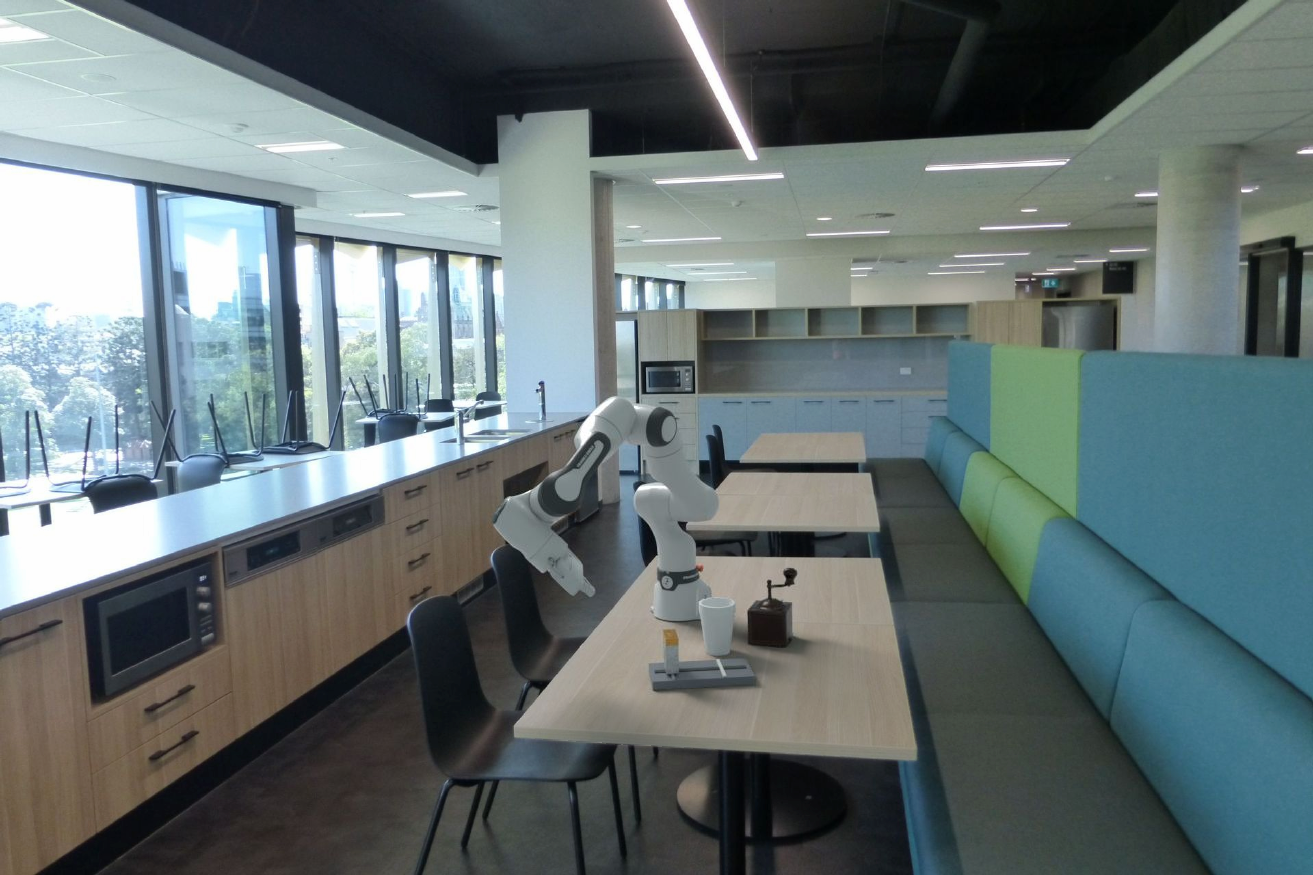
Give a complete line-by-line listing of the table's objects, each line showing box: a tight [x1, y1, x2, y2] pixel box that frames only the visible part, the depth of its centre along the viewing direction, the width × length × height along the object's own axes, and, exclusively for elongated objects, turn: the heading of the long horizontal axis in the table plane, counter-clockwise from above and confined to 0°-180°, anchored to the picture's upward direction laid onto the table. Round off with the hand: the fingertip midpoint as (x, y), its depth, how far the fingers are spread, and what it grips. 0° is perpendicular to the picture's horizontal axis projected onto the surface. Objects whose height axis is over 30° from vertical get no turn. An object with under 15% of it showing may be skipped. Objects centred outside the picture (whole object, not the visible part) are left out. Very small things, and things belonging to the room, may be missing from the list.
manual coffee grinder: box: [746, 567, 798, 648], centre depth 243 cm, size 16×11×18 cm
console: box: [648, 657, 756, 691], centre depth 216 cm, size 24×12×2 cm, turn 95°
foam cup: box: [699, 596, 737, 657], centre depth 233 cm, size 10×9×13 cm
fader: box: [662, 628, 680, 674], centre depth 215 cm, size 3×7×9 cm, turn 5°
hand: (593, 593), depth 211 cm, fingers closed
